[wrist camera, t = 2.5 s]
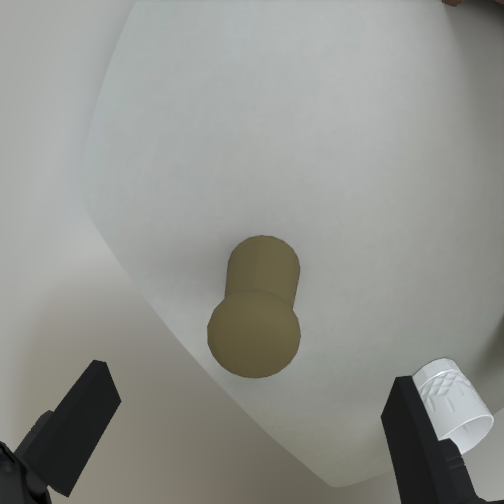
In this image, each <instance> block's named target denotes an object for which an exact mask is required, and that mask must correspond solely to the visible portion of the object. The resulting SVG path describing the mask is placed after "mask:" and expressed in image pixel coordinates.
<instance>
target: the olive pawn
mask: <svg viewBox="0 0 504 504" xmlns="http://www.w3.org/2000/svg"><path fill="white" fill-rule="evenodd" d="M299 273H300V266H299V261H298V257H297V256H296V254H295V252H294V251H293V249H292V248H291V247H290V246H289V245H288V244H286V243H285V242H284V241H282V240H280V239H277V238H275V237H272V236H262V235H261V236H256V237H251V238H248V239H247V240H245V241H243V242H241V243H240V244H239V245H238V246H237V247H236V248H235V249H234V251H233V252H232V254H231V257H230V259H229V262H228V271H227V281H226V290H225V299H224V300H223V301H222V302H221V303H220V304H219V305H218V306H217V307H216V308H215V309H214V311H213V314H212V316H211V318H210V321H209V323H208V326H207V332H208V345H209V348H210V350H211V353H212V355H213V356H214V358H215V359H216V360H217V361H218V363H219V364H220V365H221V366H222V367H223V368H225V369H226V370H228V371H229V372H231V373H233V374H236V375H239V376H242V377H248V378H262V377H268V376H271V375H273V374H276V373H278V372H279V371H281V370H282V369H283V368H284V367H286V366H287V365H288V364H289V363H290V362H291V361H292V359H293V358H294V356H295V355H296V353H297V350H298V348H299V343H300V337H301V334H300V327H299V322H298V318H297V316H296V315H295V313H294V311H293V310H292V309H293V304H294V300H295V295H296V290H297V285H298V280H299Z"/></svg>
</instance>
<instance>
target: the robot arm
mask: <svg viewBox="0 0 504 504" xmlns="http://www.w3.org/2000/svg"><path fill="white" fill-rule="evenodd" d="M120 403H121V399H120V397H119V394H118V392H117V389H116V387H115V385H114V382H113V379H112V377H111V374H110V372H109V369H108V366H107V364H106V362H102V361H97V360H93V361H92V362H91V364H90V365H89V366H88V368H87V369H86V370H85V371H84V373H83V374H82V375H81V376H80V378H79V379H78V380H77V381H76V383H75V384H74V385H73V387H72V388H71V389H70V391H69V392H68V393H67V395H66V396H65V397H64V399H63V400H62V401H61V403H60V404H59V405H58V407H57V408H56V409H55V411H54V412H53V411H50V410H49V411H47V412H45V413H44V414H43V415H41V416H40V418H39V419H38V420H37V422H36V423H35V425H34V426H33V427H32V428H31V431H29V433H28V434H27V435H26V436H25V438H24V439H23V441H22V442H21V444H20V445H19V446H18V448H17V449H16V450H15V452H14V453H12V452H11V450H10V449H9V448H8V447H7V446H6V444H5V443H3V442H1V441H0V504H52V502H51V498H50V494H49V491H48V489H47V486H48V485H49V486H50V487H51V488H52V489H54V490H55V491H56V492H58V493H60V494H62V495H64V496H66V497H69V495H70V493H71V491H72V489H73V488H74V486H75V484H76V482H77V479H78V478H79V476H80V474H81V472H82V470H83V469H84V467H85V465H86V463H87V461H88V459H89V458H90V456H91V454H92V452H93V451H94V449H95V447H96V445H97V443H98V442H99V440H100V438H101V436H102V434H103V433H104V431H105V429H106V427H107V425H108V424H109V422H110V420H111V418H112V417H113V415H114V413H115V412H116V410H117V408H118V406H119V405H120ZM381 420H382V424H383V427H384V431H385V435H386V439H387V443H388V446H389V450H390V454H391V459H392V463H393V467H394V471H395V476H396V480H397V484H398V489H399V494H400V499H401V504H504V500H499V501H492V502H486V501H485V500H484V499H482V498H479V497H478V496H477V495H476V493H475V491H474V488H473V485H472V482H471V479H470V477H469V474H468V471H467V469H466V466H464V461H463V458H461V453H460V451H459V448H458V446H457V445H456V444H455V443H454V442H453V441H452V440H451V439H450V438H447V439H443V440H438V438H437V435H436V433H435V430H434V428H433V425H432V423H431V420H430V418H429V415H428V413H427V411H426V408H425V406H424V403H423V401H422V399H421V397H420V394H419V392H418V390H417V388H416V385H415V383H414V381H413V379H412V377H411V376H403V377H396V378H395V381H394V384H393V387H392V389H391V392H390V395H389V397H388V400H387V402H386V405H385V407H384V410H383V412H382V415H381Z"/></svg>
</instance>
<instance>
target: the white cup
mask: <svg viewBox="0 0 504 504" xmlns="http://www.w3.org/2000/svg"><path fill="white" fill-rule="evenodd" d="M412 379H413V381H414V383H415V385H416V388H417V390H418V392H419V394H420V397H421V399H422V401H423V403H424V406H425V408H426V411H427V413H428V415H429V418H430V420H431V423H432V425H433V428H434V430H435V433H436V435H437V438H438V440H443V439H447V438H450V439H451V440H452V441H453V442H454V443H455V444H456V445H457V446H458V448H459V451H460V453H461V455H462V454H464V453H465V452H467V451H468V450H470V449H471V448H472V447H474V446H475V445H477V444H478V443H479V442H480V441H481V440H482V439H483V438H484V437H485V436H486V435H487V434H488V432H489V431H490V429H491V428H492V426H493V423H494V417H493V416H492V414H491V412H490V411H489V409H488V408H487V406H486V405H485V403H484V402H483V400H482V399H481V397H480V396H479V394H478V393H477V391H476V390H475V388H474V387H473V385H472V384H471V383H470V381H469V380H468V379H467V378H466V376H465V375H463V373H462V372H461V371H460V370H459V368H458V367H457V365H456V364H455V362H454V361H453V360H450V359H446V358H443V359H438V360H434V361H432V362H430V363H429V364H427V365H425V366H423V367H422V368H421V369H420V370H419V371H418V372H417V373H416V374H415V375H414V376H413V377H412Z"/></svg>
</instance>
